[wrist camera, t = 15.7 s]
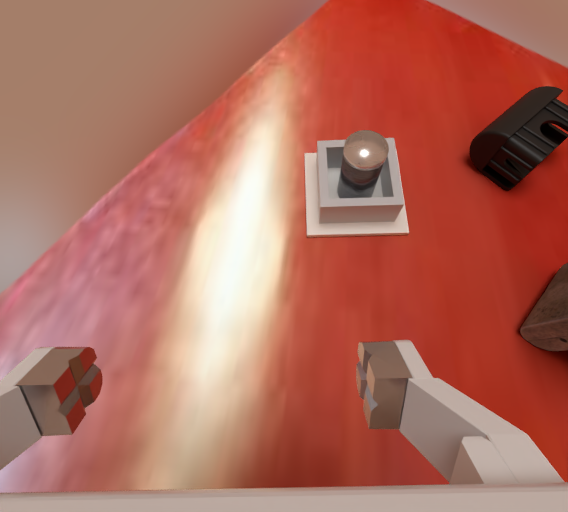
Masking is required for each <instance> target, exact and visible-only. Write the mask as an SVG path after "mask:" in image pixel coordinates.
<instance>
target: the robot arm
mask: <svg viewBox="0 0 568 512" xmlns="http://www.w3.org/2000/svg"><path fill="white" fill-rule="evenodd" d="M358 355H359V359H360V361H359V362H358V364H357V367H356V380H357V387H358V392H359V395H360V397H361V398H362V399H363V400H364V407H363V410H364V413H365V416H366V420H367V423H368V427H369V429H400V430H399V431H400V432H401V433H402V434H403V435H404V436H405V437H406V438H407V439H408V440H409V441H410V442H411V443H412V444H413V445H414V446H415V447H416V448H417V449H418V450H419V451H420V453H421V454H422V455H423V456H424V457H425V458H426V459H427V460H428V461H429V462H430V463H431V464H432V465H433V466H434V467H435V468H436V469H437V470H438V471H439V472H440V473H441V474H442V475H443V476H444V477H445V478H446V479H447V481H448V482H449V483H450V484H449V485H398V486H342V487H289V488H236V489H182V490H128V491H74V492H21V493H0V512H568V482H564V481H563V479H562V478H561V477H560V476H559V474H558V473H557V472H556V470H555V469H554V468H553V467H552V465H551V464H550V463H549V461H548V460H547V459H546V458H545V456H544V455H543V454H542V453H541V451H540V450H539V449H538V447H537V446H536V445H535V444H534V442H533V441H532V440H531V438H530V437H529V436H528V435H527V434H526V433H524V432H523V431H521V430H520V429H518V428H516V427H515V426H513V425H512V424H510V423H509V422H507V421H505V420H504V419H502V418H501V417H499V416H498V415H496V414H494V413H493V412H491V411H490V410H488V409H486V408H485V407H483V406H482V405H480V404H479V403H477V402H475V401H474V400H472V399H471V398H469V397H468V396H466V395H464V394H463V393H461V392H460V391H458V390H456V389H455V388H453V387H452V386H450V385H449V384H447V383H445V382H444V381H442V380H441V379H439V378H433V377H432V375H431V373H430V372H429V370H428V368H427V367H426V365H425V363H424V362H423V360H422V358H421V357H420V355H419V353H418V352H417V350H416V348H415V347H414V345H413V343H412V342H411V341H410V340H395V341H378V342H359V346H358ZM96 358H97V357H96V354H95V351H94V349H92V348H90V347H40V348H37V349H35V350H34V351H32V352H31V353H30V354H29V355H28V356H27V357H26V358H25V359H24V360H23V361H22V362H20V363H19V364H18V365H17V366H16V367H15V368H14V369H13V370H12V371H11V372H10V373H8V374H7V375H6V376H5V377H4V378H3V379H2V380H1V381H0V470H1V469H2V468H4V467H5V466H6V465H7V464H9V463H10V462H11V461H12V460H14V459H15V458H16V457H18V456H19V455H20V454H21V453H23V452H24V451H25V450H26V449H28V448H29V447H30V446H32V445H33V444H34V443H35V442H37V441H38V440H39V439H40V438H41V436H51V435H72V434H73V433H74V431H75V430H76V428H77V427H78V425H79V424H80V422H81V421H82V419H83V418H84V416H85V415H86V412H85V408H86V407H87V406H89V405H90V404H92V403H93V402H94V401H95V400H96V398H97V397H98V395H99V394H100V390H101V387H102V373H101V370H100V369H99V368H98V367H97V366H96V365H95V364H94V362H95V360H96Z"/></svg>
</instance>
